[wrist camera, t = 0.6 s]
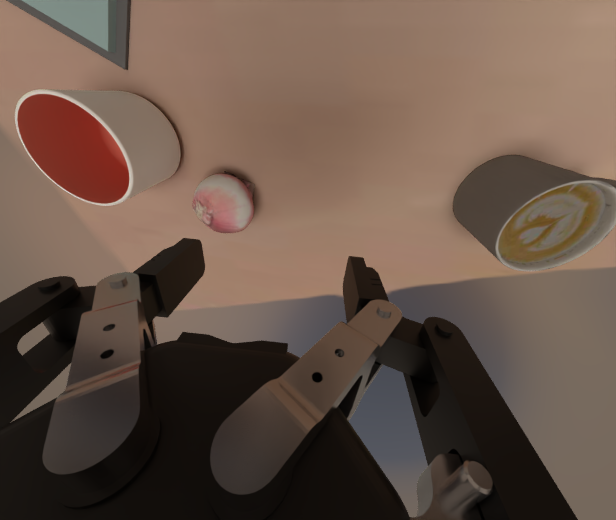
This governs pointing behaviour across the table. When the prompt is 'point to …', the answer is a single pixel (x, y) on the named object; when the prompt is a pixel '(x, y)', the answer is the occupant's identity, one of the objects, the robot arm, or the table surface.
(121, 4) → the mat
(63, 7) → the lid
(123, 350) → the robot arm
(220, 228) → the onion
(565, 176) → the coffee mug
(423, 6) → the table surface
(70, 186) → the cup
